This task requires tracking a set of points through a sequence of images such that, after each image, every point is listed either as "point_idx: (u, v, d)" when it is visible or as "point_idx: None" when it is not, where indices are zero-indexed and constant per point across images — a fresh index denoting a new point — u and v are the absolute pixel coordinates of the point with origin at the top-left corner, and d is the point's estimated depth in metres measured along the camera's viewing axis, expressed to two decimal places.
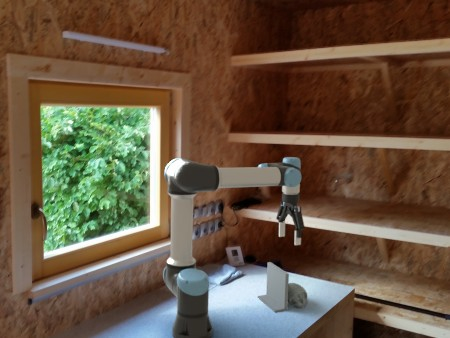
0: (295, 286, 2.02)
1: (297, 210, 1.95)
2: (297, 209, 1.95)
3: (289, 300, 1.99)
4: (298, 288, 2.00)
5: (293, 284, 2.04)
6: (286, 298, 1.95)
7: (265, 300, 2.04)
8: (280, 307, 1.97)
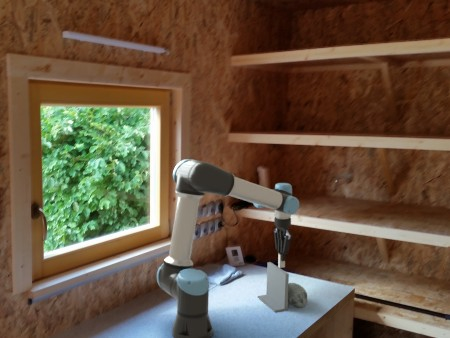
0: (295, 286, 2.02)
1: (287, 238, 2.06)
2: (287, 238, 2.06)
3: (289, 300, 1.99)
4: (298, 288, 2.00)
5: (293, 284, 2.04)
6: (286, 298, 1.95)
7: (265, 300, 2.04)
8: (280, 307, 1.97)
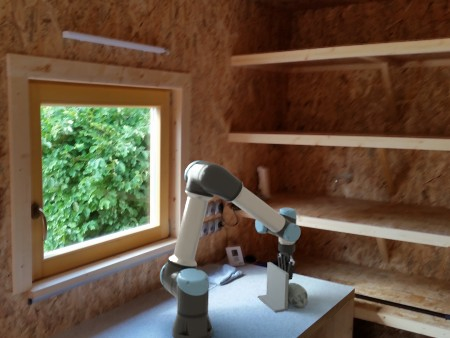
0: (296, 286, 2.01)
1: (291, 265, 2.04)
2: (292, 264, 2.03)
3: (289, 300, 1.99)
4: (299, 288, 1.99)
5: (293, 284, 2.04)
6: (286, 298, 1.95)
7: (265, 300, 2.04)
8: (280, 307, 1.97)
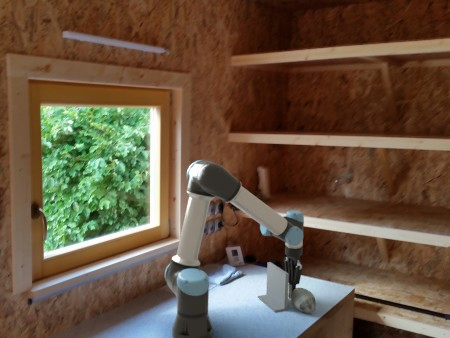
0: (303, 291, 1.96)
1: (298, 269, 1.98)
2: (299, 268, 1.98)
3: (297, 306, 1.93)
4: (306, 293, 1.94)
5: (301, 289, 1.98)
6: (286, 298, 1.95)
7: (265, 300, 2.04)
8: (280, 307, 1.97)
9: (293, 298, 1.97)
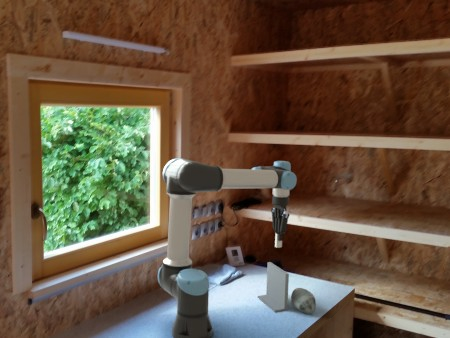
0: (303, 291, 1.96)
1: (284, 217, 2.02)
2: (285, 216, 2.02)
3: (297, 306, 1.93)
4: (306, 293, 1.94)
5: (301, 289, 1.98)
6: (286, 298, 1.95)
7: (265, 300, 2.04)
8: (280, 307, 1.97)
9: (293, 298, 1.97)
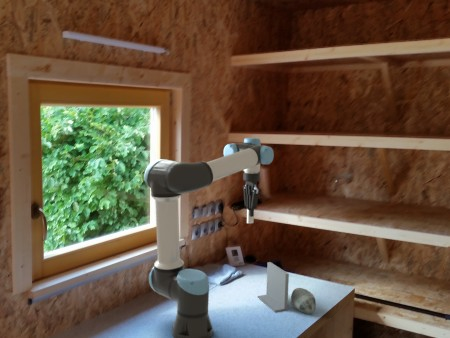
0: (303, 291, 1.96)
1: (255, 193, 2.05)
2: (255, 192, 2.05)
3: (297, 306, 1.93)
4: (306, 293, 1.94)
5: (301, 289, 1.98)
6: (286, 298, 1.95)
7: (265, 300, 2.04)
8: (280, 307, 1.97)
9: (293, 298, 1.97)
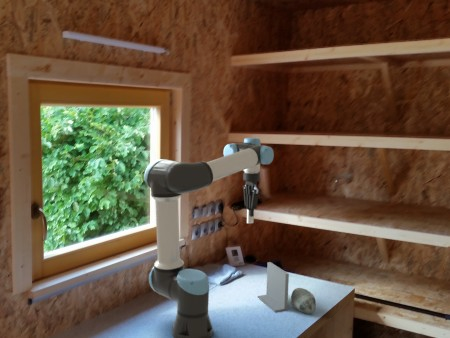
0: (303, 291, 1.96)
1: (255, 193, 2.05)
2: (255, 192, 2.05)
3: (297, 306, 1.93)
4: (306, 293, 1.94)
5: (301, 289, 1.98)
6: (286, 298, 1.95)
7: (265, 300, 2.04)
8: (280, 307, 1.97)
9: (293, 298, 1.97)
